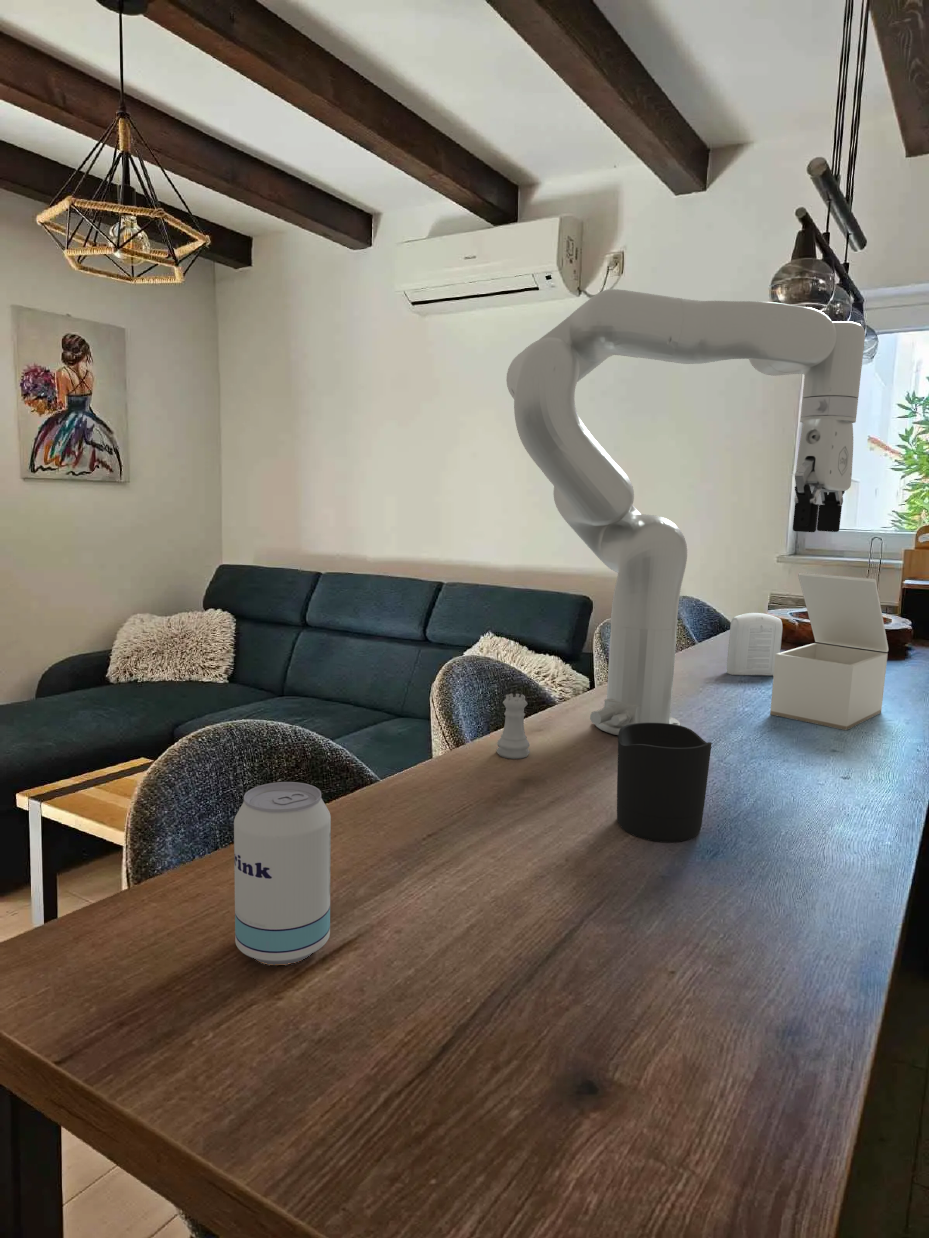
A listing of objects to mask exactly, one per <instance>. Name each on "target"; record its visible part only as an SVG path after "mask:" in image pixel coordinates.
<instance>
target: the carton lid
mask: <svg viewBox="0 0 929 1238" xmlns="http://www.w3.org/2000/svg"><path fill="white" fill-rule="evenodd" d="M797 577H798V580H799V583H800V587H801V591H802V595H803V596H802V597H803V599H804V604H805V607H806V611H807V616H808V619H809V623H810V626H811V629H812V630H811V631H812V634H813V637H814V643H818V644H825V645H832V646H839V647H846V648H853V649H860V650H867V651H874V652H881V653H888V652H889V644H888V640H887V639H888V638H887V634H886V633H887V632H886V628H885V627H886V626H885V622H884V617H883V613H882V605H881V602H880V601H881V600H880V596H879V590H878V586H877V580H876V578H869V577H868V578H867V577H856V576H847V575H846V576H845V575H844V576H843V575H833V574H824V573H823V574H822V573H811V572H810V573H809V572H798V576H797Z"/></svg>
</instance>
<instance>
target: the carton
mask: <svg viewBox="0 0 929 1238" xmlns="http://www.w3.org/2000/svg"><path fill="white" fill-rule="evenodd" d="M888 654H889V653H887V652H880V651H873V650H867V649H860V648H853V647H846V646H839V645H832V644H825V643H818V642H814V643H810V644H805V645H803V646H798V647H796V648H791V649H788V650H786V651H785V650H784V651H780V653H777V654H775V665H774V676H773V678H772V679H773V680H772V689H771V701H770V715H771V716H777V717H781V718H786V719H791V720H795V721H800V722H805V723H810V724H814V725H820V726H825V727H828V728H834V729H838V730H843V731H848V730H850V729H852V728H854V727H857V726H858V725H859V724H862V723H864V722H866V721H868V720H869V719H871V718H874V717H875V716H877V715H880V714H882V709H883V700H884V692H885V691H884V690H885V680H886V673H887V663H888Z"/></svg>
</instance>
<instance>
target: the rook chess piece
mask: <svg viewBox="0 0 929 1238" xmlns="http://www.w3.org/2000/svg"><path fill="white" fill-rule="evenodd" d="M502 704H503V705H504V707H505V712H504V713H503V714H504V716H505V720H504V726H503V730H502V734H501V735H500V738H499V739H498V740H497V746H498V747H497V749H496V750H495V751H496V753H497V754H498V755H499V757H501V758H504V759H510V760H521V759H525V758H527V757H528V755H529V754H530V753H531V751H530V749H529V747H530V741H529V740H528V739H527V735H526V734H525V733H526V732H525V723H524V720H525V719H524V717H525V716H526V713H525V707H527V705H528V702H527V701H526V695H525V694H519V693H515V696H514V693H508V694H506V695H505V699H504V700H503V701H502Z"/></svg>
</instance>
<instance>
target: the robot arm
mask: <svg viewBox="0 0 929 1238" xmlns="http://www.w3.org/2000/svg"><path fill="white" fill-rule="evenodd" d="M865 338H866V332H865V329H864V326H862V324H860V323H859V322H854V321H845V320H844V321H842V320H840V321H838V320H837V321H832V319H831V318H830V317H829V315H827V314H825V312H822V311H820V310H818V309H816V308H813V307H808V306H807V307H806V306H802V305H795V304H789V303H788V304H787V303H781V302H773V301H760V300H759V301H758V300H757V301H749V300H748V301H747V300H746V301H745V300H744V301H742V300H740V301H738V300H737V301H736V300H732V301H731V300H697V299H696V300H695V299H690V298H689V299H688V298H682V297H674V296H667V295H659V294H655V293H647V292H640V291H633V290H626V289H617V288H616V289H614V288H613V289H606V290H602V291H600V292H598V293H596V294H594V295H593V296H592V297H590V298H588V300H587V301H585V302H584V303H583V304H581V305H580V306H579V307H578V308H577V309H575V310H574V311H573V312H572V313H571V314H570V315H568V316H567V317H566V318H565V319H564V320H563V321H561V322H560V323H558V324H557V325H556V326H555V327H553V328H552V329H551V330H550V331H548V332H547V333H546V334H544V335H542V336H541V337H540V338H539V339H538V340H535V341H534V342H532V343H530V344H528V346H527V347H525V348H524V349H523V350H522V351H520V352H519V353H518V354H517V355H515V357H514V358H513V359H512V361H511V362H510V364H509V366H508V369H507V371H506V372H507V373H506V386H507V389H508V393H509V394H510V396H511V397H512V398H513V409H514V412H513V413H514V414H513V415H514V421H515V426H516V431H517V433H518V437H519V439H520V442H521V444H522V445H523V447H524V449H525V450H526V453H527V454H528V455H529V457H530V458H531V460H532V461H533V462H534V463H535V465H536V466H537V467H538V468H539V470H540V471H541V472H542V473H543V475H544V476H545V477H546V479H548V481H549V482H550V483H551V484H552V485H553V486H554V487H553V492H552V495H553V501H554V503H555V507H556V509H557V511H558V513H559V514H560V516H561V517H562V518H563V520H564V521H565V522H566V523H567V524H568V526H569V527H570V528H571V529H572V530H573V531H574V533H575V534H576V535H577V536H578V537H579V538H580V539H581V541H583V542H584V544H586V546H587V547H588V548H589V549H590V550H591V552H592V553H594V555H595V556H596V557H597V558H598V559H599V560H600V561H601V563H603V564H604V565H605V566H606V567H607V568H608V569H610V570H611V571H613V572H615V573H617V578H616V582H615V586H614V590H613V595H612V602H611V613H610V614H611V615H610V633H609V634H610V637H609V651H608V652H609V653H608V668H607V669H608V670H607V688H606V698H605V699H604V703H603V704H604V705H603V708H602V709H598V710H594V711H593V712H591V713H590V716H589V719H590V722H591V723H592V724H593V725H594V726H596V728H597V729H599V730H601V731H603V732H605V733H608V734H611V735H614V736H618V734H619V730H620V729H621V728H622V727H623V726H626V725H629V724H635V723H667V724H675V725H680V726H682V724H681V722H680V721H679V720H678V719H677V718H674V717H672V716H671V715H672V701H673V689H674V688H673V687H674V684H673V683H674V674H675V661H676V660H675V659H676V658H675V657H676V648H677V647H676V645H677V631H678V613H679V606H680V605H679V603H680V595H681V590H682V585H683V580H684V576H685V572H686V567H687V562H688V546H687V541H686V540H687V539H686V537H685V536H684V533H683V532H682V530H681V528H680V527H678V526H677V525H676V523H674V522H673V521H672V520H670V519H668V518H667V517H663V516H660V515H654V514H644V513H641V512H640V511H639V510H638V509H637V508H636V507H635V505H633V504H634V500H635V491H634V486H633V483H632V481H631V480H630V478H629V475H628V474H627V473H626V472H625V471H624V470H623V469H622V467H620V466H619V465H618V463H617V462H615V460H614V459H613V458H612V457H611V455H609V453H608V452H607V451H606V450H605V449H604V447H603V446H601V444H600V443H599V442H598V441H597V440H596V439H595V437H594V436H593V435H592V434H591V432H590V431H589V430H588V428H587V426H585V424H584V422H583V421H582V419H581V418H580V416H579V414H578V411H577V407H576V402H575V398H576V397H575V394H576V386H577V383H578V382H580V381H581V380H582V379H583V378H585V377H586V376H587V375H589V374H590V373H591V372H592V371H594V369H597V367H599V366H600V365H601V364H602V363H603V362H604V361H606V360H607V359H608V358H611V357H612V356H621V357H622V356H623V357H629V358H637V359H638V358H640V359H646V360H647V359H648V360H655V361H663V362H666V363H667V362H668V363H676V364H683V365H699V364H700V365H701V364H708V363H714V362H720V361H727V360H729V361H730V360H749V363H750V365H751V366H752V368H754V369H755V370H756V371H758V372H759V373H761V374H764V375H766V376H772V377H773V376H776V377H777V376H779V377H780V376H789V375H803V376H804V379H803V389H802V399H801V406H800V407H801V408H800V418H799V423H802V429H801V434H800V440H799V444H798V445H799V446H798V452H797V460H796V468H795V472H794V481H795V486H794V491H795V496H794V511H793V512H794V513H793V522H792V524H793V525H792V530H793V532H800V533H801V532H802V533H815V532H816V531H818V532H831V533H838V532H839V531H840V525H841V519H842V517H841V516H842V511H843V510H842V507H843V503H844V497H843V496H844V494H845V492H847V491H848V490H849V489H850V488H851V486H852V475H853V459H854V458H853V457H854V427H853V426H854V425H853V424H854V423H856V422H857V414H858V405H859V396H860V386H861V377H862V369H863V357H864V348H865V340H866V339H865ZM819 496H820V498H821V504H818V503H817V501H818V499H819ZM816 503H817V504H816Z"/></svg>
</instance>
